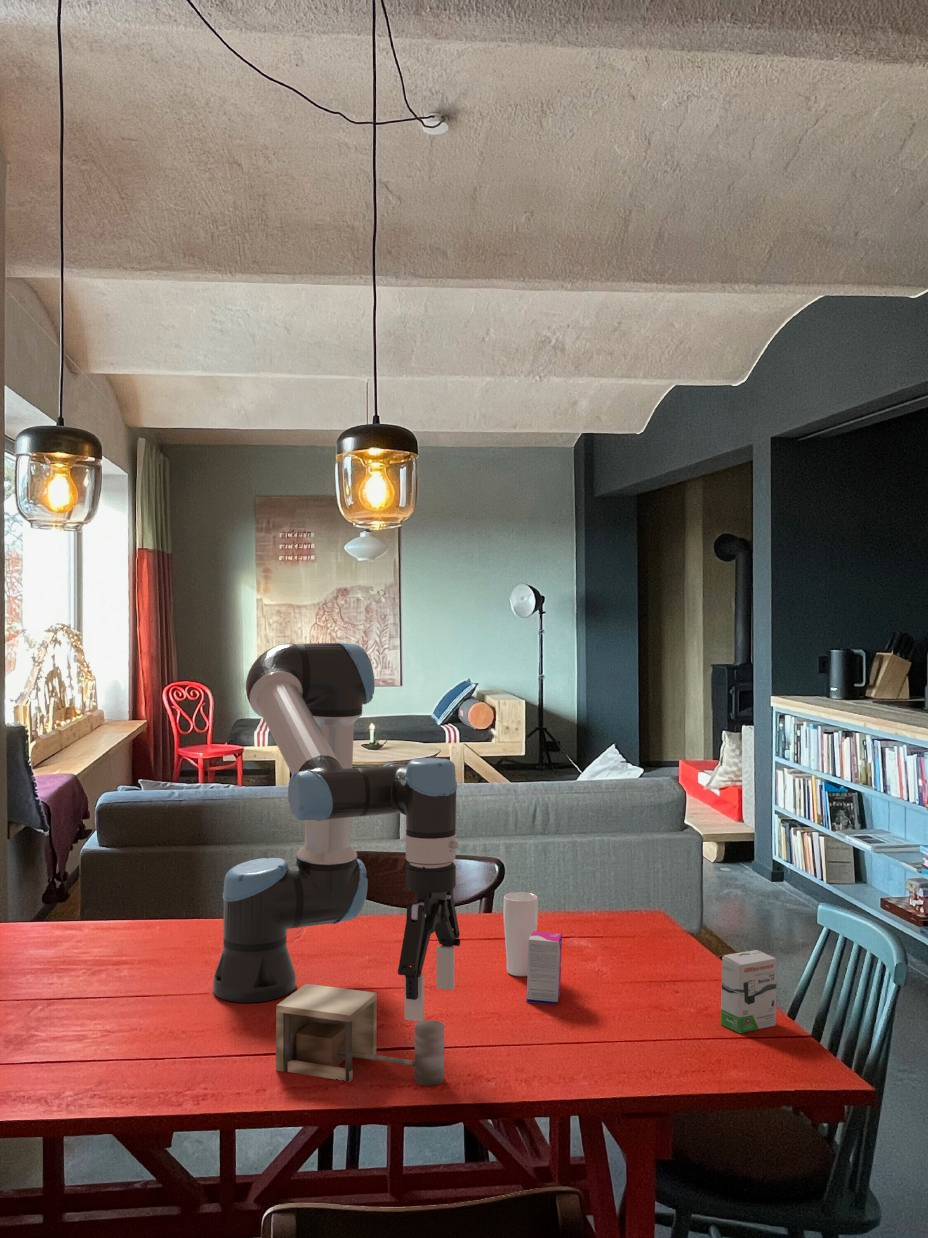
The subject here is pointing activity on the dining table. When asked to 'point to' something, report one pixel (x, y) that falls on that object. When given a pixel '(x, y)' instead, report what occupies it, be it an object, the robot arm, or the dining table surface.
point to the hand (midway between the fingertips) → (430, 1004)
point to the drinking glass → (519, 929)
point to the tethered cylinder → (329, 1050)
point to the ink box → (748, 991)
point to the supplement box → (544, 967)
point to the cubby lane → (325, 1008)
